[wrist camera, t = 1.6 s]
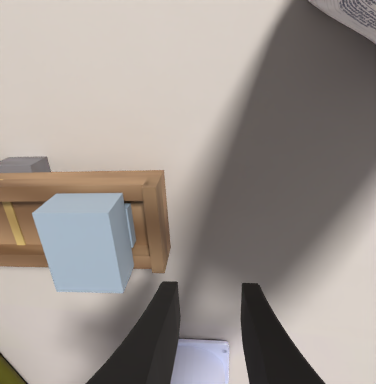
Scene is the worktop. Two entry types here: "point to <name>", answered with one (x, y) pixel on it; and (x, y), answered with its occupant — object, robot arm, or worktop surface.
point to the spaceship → (8, 374)
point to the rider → (87, 241)
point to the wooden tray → (79, 183)
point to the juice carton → (352, 14)
